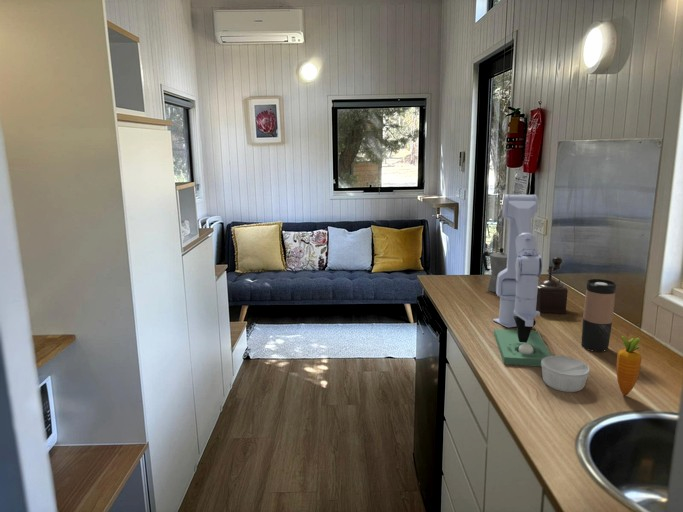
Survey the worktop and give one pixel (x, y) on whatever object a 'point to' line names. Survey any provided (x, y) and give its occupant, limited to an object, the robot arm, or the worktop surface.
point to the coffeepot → (495, 266)
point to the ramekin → (564, 373)
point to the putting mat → (510, 346)
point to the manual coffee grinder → (552, 293)
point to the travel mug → (598, 314)
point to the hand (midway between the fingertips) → (522, 341)
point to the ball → (525, 349)
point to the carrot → (628, 365)
